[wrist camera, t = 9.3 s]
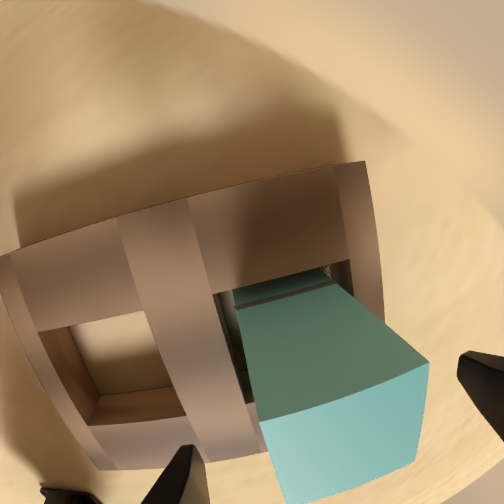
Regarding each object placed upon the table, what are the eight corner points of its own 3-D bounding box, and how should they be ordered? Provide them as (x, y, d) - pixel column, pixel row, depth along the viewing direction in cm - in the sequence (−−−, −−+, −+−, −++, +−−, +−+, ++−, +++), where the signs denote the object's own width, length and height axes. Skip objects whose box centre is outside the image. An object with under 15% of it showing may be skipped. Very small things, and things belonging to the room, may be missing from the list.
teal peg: (326, 338, 17) (415, 461, 8) (250, 359, 17) (286, 508, 7) (315, 264, 16) (431, 359, 7) (230, 285, 16) (256, 421, 6)
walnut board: (365, 386, 19) (385, 412, 16) (108, 440, 17) (98, 470, 14) (338, 164, 15) (364, 160, 12) (19, 248, 14) (-10, 260, 11)
